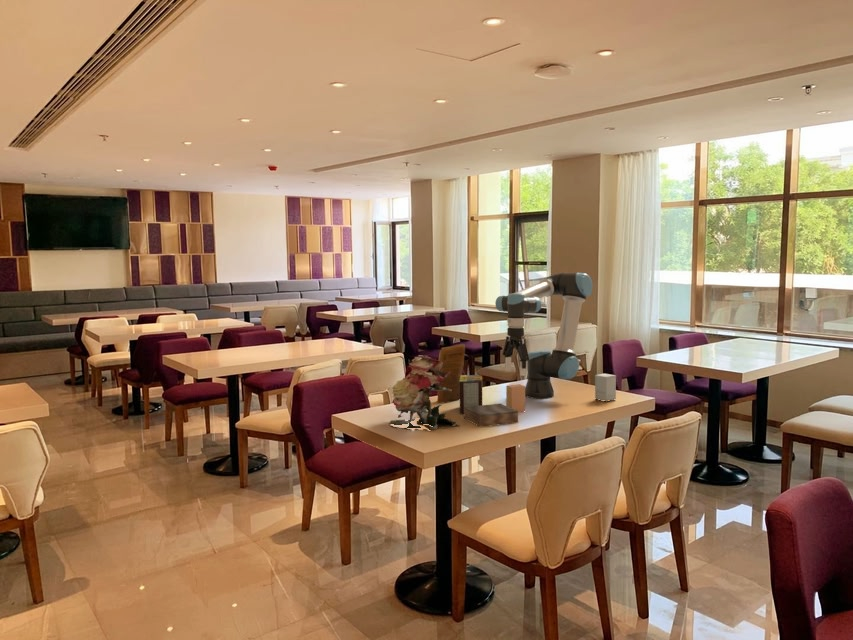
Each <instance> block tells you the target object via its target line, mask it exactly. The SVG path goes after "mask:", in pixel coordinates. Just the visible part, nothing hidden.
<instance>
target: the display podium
mask: <svg viewBox="0 0 853 640" xmlns="http://www.w3.org/2000/svg"><path fill="white" fill-rule="evenodd" d="M463 415H464V417H463V419H465V420H466V421H468V420H469V421H468V422H470V421H471V423H472V422H473V423H472V424H474V423H475V424H474V425H476V424H477V425H476V426H478V427H479V426H483V427H490V426H489V425H492V426H498V425H497V424H500V425H507V424H506V423H509V424H513V423H512V422H518V423H519V413H518V411H517V410H514V409H512V408H510V407H507V406H506V404H502V403H493V404H492V403H491V404H482V405H481V406H471V407H464V414H463Z"/></svg>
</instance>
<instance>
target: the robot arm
mask: <svg viewBox="0 0 853 640" xmlns="http://www.w3.org/2000/svg"><path fill="white" fill-rule="evenodd" d="M592 293H593V281H592V279H591V276H590V275H589V274H587V273H585V272H558V273H556V274H551V275H549V276H546V277H544V278H541V279H540V280H539V282H538V283H535V284H532V285H530V286H528V287H526V288H523V289H520V290H518V291H516V292H514V293H512V292H511V293H508V295H500V296H499V295H498V296H497V297H496V299H495V302H494V303H495V308H496V310H497V311H499V312H503V313H505V312H506V313H507V320H506V322H507V326H508V327H507V329H506V330H507V333H506V334H507V336H505V344H504V347H503V350H502V356H504V358H505V359H504V360H505V363H504V364H505V366H504V367H505V370H504V371H505V372H511V371H512V354H513V351H514V349H516V351H517V354H518V357H519V359H520V360H519V377H523V376H524V377H525V376H527V380H526V384H525V397H527V396H528V397H527V398H531V397H533V398H532V399H548V398H547V397H550V398H553V397H554V396H555V394H554V393H555V391H554V388H553V385H552V382H551V378H555V379H560V380H571V379H573V378H574V377H576V375H577V374H578V371H579V369H580V363H579V358H578V357H577V354H576V352H575V343H576V338H577V334H578V327H579V322H580V315H581V312H582V311H581V310H582V305H583V303H585V302H586V300H587V297H590V296H591V294H592ZM551 296H562V297H561V298H562V299H563V301H564V303H563V309H562V314H561V319H560V324H559V331H558V337H557V341H556V347H554V348H553V349H552V351H551V350H548V349H547V350H546V349H544V350H536V351H535V350H533V351H530V352H528V348H527V344H526V341H527V340H526V338H522V337H523V336H524V335H525V328H524V327H525V314H534V313H538V312H539V311H540V310H541V309H542V301H541V298H544V297H546V298H547V297H548V298H549V297H551ZM552 396H553V397H552Z"/></svg>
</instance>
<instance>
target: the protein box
mask: <svg viewBox="0 0 853 640" xmlns="http://www.w3.org/2000/svg"><path fill="white" fill-rule="evenodd" d="M459 382H460V400H459V415H464V407H471V406H481V405H483V374H481V375H479V374H477V375H476V374H475V375H474V374H472V375H471V374H470V375H468V374H465V375H463V374H462V375H461V376H460V381H459Z"/></svg>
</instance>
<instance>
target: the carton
mask: <svg viewBox="0 0 853 640" xmlns="http://www.w3.org/2000/svg"><path fill="white" fill-rule="evenodd" d="M525 387H526V385H522V384H509V385H506V388H505V389H506V393H505V394H506V400H505V401H506V404H505V406H507V407H510V408H512V409H514V410H517V411H518V412H521V413H525V412H526V396H525ZM524 411H525V412H524Z"/></svg>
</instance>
